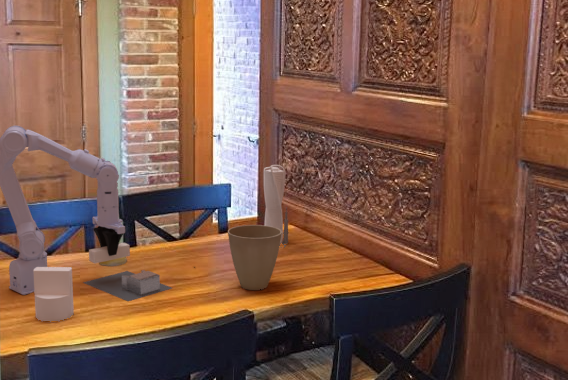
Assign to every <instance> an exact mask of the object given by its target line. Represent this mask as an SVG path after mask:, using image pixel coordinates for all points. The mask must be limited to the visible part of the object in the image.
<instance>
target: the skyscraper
mask: <svg viewBox="0 0 568 380" xmlns="http://www.w3.org/2000/svg"><path fill="white" fill-rule="evenodd" d="M280 168H281V169H282V170H281V169H280ZM285 183H286V169H285V168H284V166H282V165H280V164H271V165H270V166H267V167H264V168H263V194H264V203H265V204H264V205H265V210H264V211H265V212H264V224H263V225H264V226H271V227H275V228H278V229H280V230H281V231H282V234H281V240H280V244H281V243H282V244H283V245H284V244H287V243H288V242H289V219H288V207H287V206H286V207H285V212H284V215H285V216H283V208H282V203H283V199H284V194H285ZM283 217H284V220H283ZM283 223H284V224H283ZM288 244H289V243H288ZM288 244H287V245H288ZM287 245H284V248H285V247H286V246H287Z"/></svg>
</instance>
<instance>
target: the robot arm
mask: <svg viewBox="0 0 568 380" xmlns="http://www.w3.org/2000/svg"><path fill="white" fill-rule="evenodd" d="M26 148H27V152H33V151H34V152H35V151H42V152H44V153H47V154H49V155H51V156H54V157H56V158H58V159H61V160H63V161H65V162H68V166H69V168H70V170H71V169H72V170H74V171H76V172H78V173H80V174H82V175H84V176H86V177H89V178H91V179H96V181H97V189H96V203H97V205H96V210H97V216H92V224H93V225H97V226H96V227H93V232H94V234H95V235H96V236H97V239H98V243H99V246H100V247H105V246H107V250H108V254H109V256H112V255H116V254H117V250H118V245H119V244H120V241H121V240H122V237H123V235H124V234H125V233H126V226H125V225H123V219H121V218H120V215H119V214H120V213H119V212H120V211H119V209H120V208H119V207H120V206H119V203H120V202H119V189H118V187H119V186H118V180H119V179H120V175H119V171H118V169H117V167H116V165H115V164H114V163H112V162H111V160H106V159H105V158H103V157H101V158H100V157H98V156H95V155H94V154H91V153H89V152H90V151H89V150H88V149H86V148H84V150H83V149H76V150H71V149H70V148H67V147H66V146H64V145H62V144H60V143H59V142H56V141H54V140H53V139H50V138H48V137H47V136H45V135H43V134H40V133H38V132H35V131H33V130H31V129H25V128H24V127H22V126H21V125H12V126H8V128H7V129H6V130H5V131H4V132H3V133H2V135H1V137H0V189H1V192H2V195H3V197H4V200H5V202H6V205H7V207H8V210H9V212H10V215H11V218H12V221H13V223H14V225H15V228H16V234H17V238H18V240H19V247H18V250H19V251H18V252H19V253H18V257H17V258H16V259H13V260H11V261H10V262H9V265H8V267H9V268H8V271H9V286H8V288H9V289H10V290H13V292H17V293H19V294H21V295H23V296H25V295H29V294H31V293H35V292H34V272H33V270H34V269H35V268H36V267H48V253H47V252H46V251H45V242H46V236H45V233H44V232H43V231H41V230H40V229H39V227H38V225H37V222H36V221H35V220H34V218H33V216H32V213H31V210H30V208H29V205H28V202H27V200H26V197H25V195H24V191H23V189H22V187H21V184H20V182H19V179H18V177H17V173H16V171H15V169H14V166H13V165H14V163H15V161H16V159H17V157H18V156H20V154H21V153H23V152H24V151H25V150H26Z"/></svg>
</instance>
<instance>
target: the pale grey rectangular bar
mask: <svg viewBox="0 0 568 380" xmlns="http://www.w3.org/2000/svg"><path fill="white" fill-rule="evenodd" d="M130 246H131V245H130V244H128V243H126V242H121V243H120V242H119V245H118V250H117V254H116V255H112V256H109V254H108V250H107V246H105V247H101V246H100V247H96V248H91V249H88V261H89V262H91V263H93V264H98V263H99V262H104V261H108V260H113V259H118V258H122V257H126V258H127V257H130V256H131V253H130V252H131V249H130Z"/></svg>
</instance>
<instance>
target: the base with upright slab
mask: <svg viewBox="0 0 568 380" xmlns="http://www.w3.org/2000/svg"><path fill="white" fill-rule="evenodd" d="M33 272H34V292H33V293H34V310H35V319H36V318H37V319H38V320H37V319H36V320H37V321H39V320H41V321H40V322H43V321H50V322H49V323H52V322H51V321H58V322H61V321H60V320H63V321H65V320H64V319H67V318H69V319H70V317H71V316H72V315H73V316H74V309H75V308H74V289H73V268H72V267H69V266H65V267H64V266H56V267H55V266H47V267H36V268H35V269H34V270H33ZM73 316H72V317H73ZM72 317H71V318H72ZM67 320H68V319H67Z"/></svg>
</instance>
